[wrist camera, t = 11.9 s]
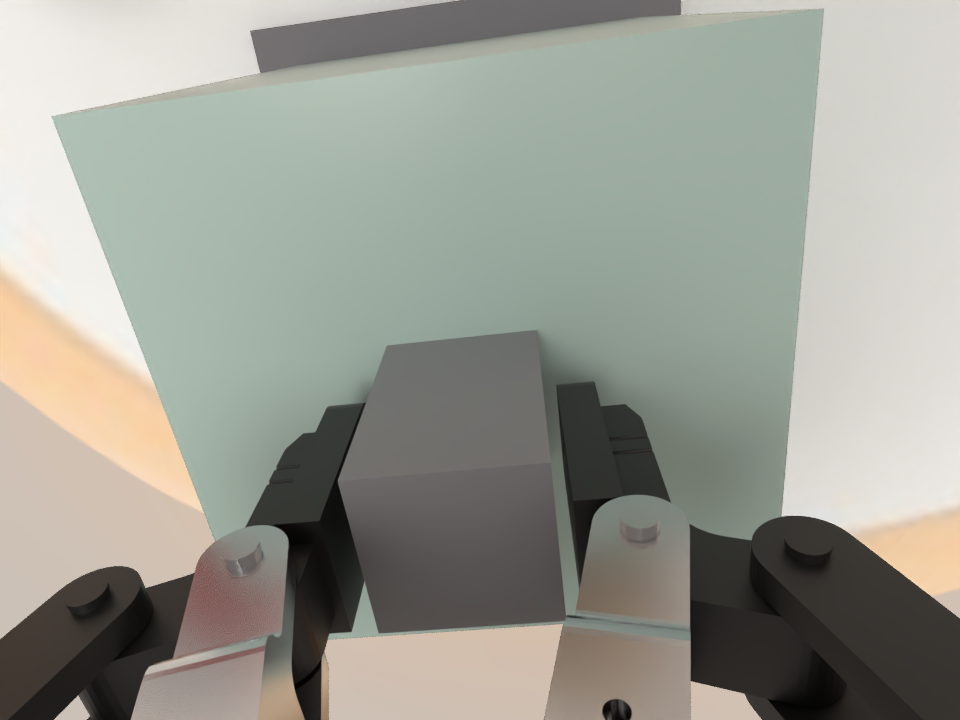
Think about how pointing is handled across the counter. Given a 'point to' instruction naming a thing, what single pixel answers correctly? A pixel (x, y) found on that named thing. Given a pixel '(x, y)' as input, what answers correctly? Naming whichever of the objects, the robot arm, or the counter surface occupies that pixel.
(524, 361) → the cover
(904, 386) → the counter surface
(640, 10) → the mat
